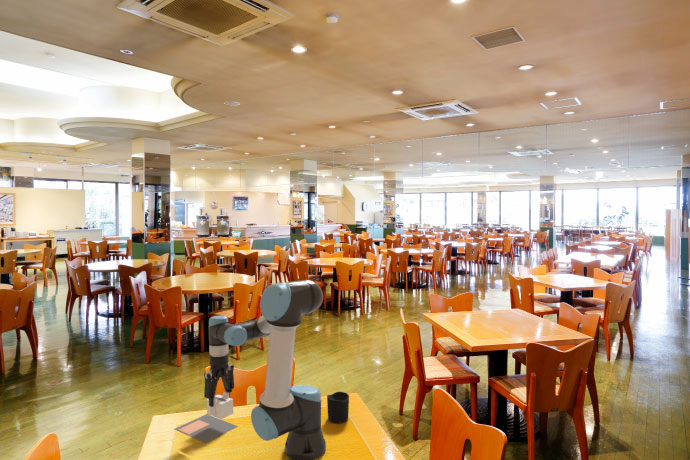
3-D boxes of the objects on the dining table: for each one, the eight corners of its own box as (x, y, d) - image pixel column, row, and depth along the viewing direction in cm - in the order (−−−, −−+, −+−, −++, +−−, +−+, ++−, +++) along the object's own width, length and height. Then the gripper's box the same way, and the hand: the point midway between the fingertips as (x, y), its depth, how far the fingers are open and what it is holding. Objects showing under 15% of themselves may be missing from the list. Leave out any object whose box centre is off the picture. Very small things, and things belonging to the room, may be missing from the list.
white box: (233, 413, 172) (233, 398, 172) (221, 419, 167) (221, 403, 167) (218, 408, 177) (218, 394, 177) (206, 414, 172) (206, 398, 172)
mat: (238, 427, 173) (238, 425, 173) (205, 444, 160) (205, 442, 160) (206, 415, 184) (206, 413, 184) (174, 430, 171) (174, 428, 171)
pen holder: (349, 424, 176) (349, 400, 176) (326, 424, 176) (326, 400, 176) (348, 414, 185) (348, 391, 185) (327, 414, 185) (327, 391, 185)
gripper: (230, 347, 182) (231, 400, 182) (193, 359, 166) (194, 417, 166) (242, 349, 178) (243, 404, 178) (205, 362, 162) (206, 421, 162)
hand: (220, 410), depth 172 cm, fingers closed on white box, 6 cm apart
